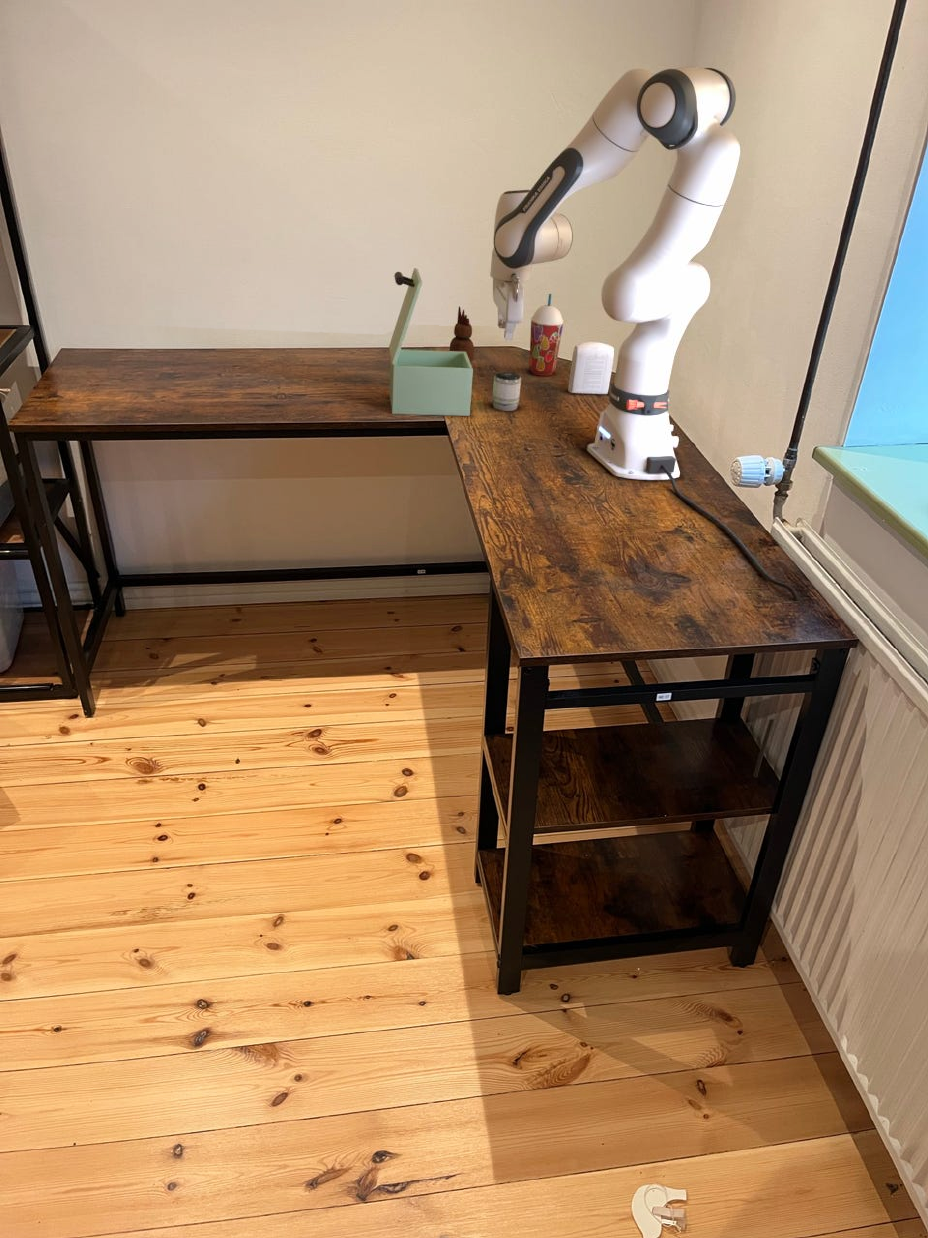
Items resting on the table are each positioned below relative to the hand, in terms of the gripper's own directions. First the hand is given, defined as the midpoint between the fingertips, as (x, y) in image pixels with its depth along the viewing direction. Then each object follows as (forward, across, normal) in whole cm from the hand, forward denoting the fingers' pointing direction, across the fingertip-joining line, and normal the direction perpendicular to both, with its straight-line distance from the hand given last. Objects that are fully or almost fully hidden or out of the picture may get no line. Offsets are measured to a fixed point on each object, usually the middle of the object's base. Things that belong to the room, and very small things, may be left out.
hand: (505, 333), depth 217 cm
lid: (-3, 0, +22) cm, 22 cm away
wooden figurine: (+17, +31, +5) cm, 36 cm away
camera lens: (+17, 0, -2) cm, 17 cm away
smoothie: (+17, +28, -16) cm, 36 cm away
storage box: (+17, 0, +16) cm, 24 cm away
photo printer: (+17, +13, -25) cm, 33 cm away
